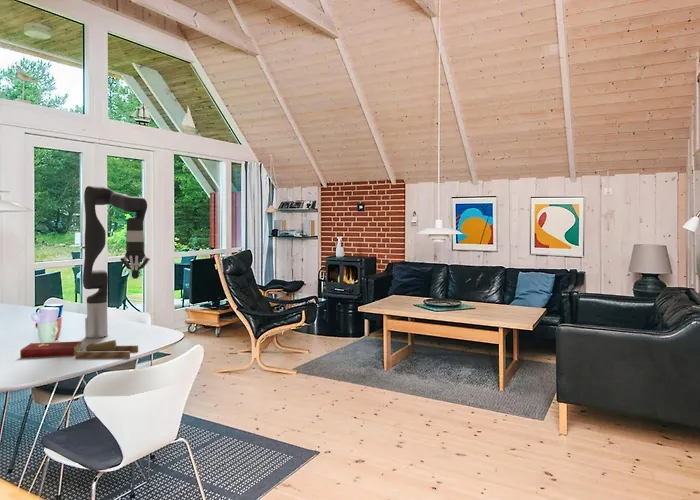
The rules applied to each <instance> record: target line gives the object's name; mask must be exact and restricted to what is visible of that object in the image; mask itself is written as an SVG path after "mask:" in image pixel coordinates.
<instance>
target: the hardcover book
mask: <svg viewBox="0 0 700 500" xmlns="http://www.w3.org/2000/svg"><path fill="white" fill-rule="evenodd" d="M83 342H84V341H83V340H81V341H78V340H77V341H56V342H55V341H53V342H50V341H49V342H30V343H28V345H26V346H24V347H23V348H21V349H20V351H19V352H20V354H19V356H20V359H26V358H27V359H28V358H47V357H48V358H49V357H50V358H51V357H52V358H53V357H72V356H73V357H74V356H75V357H76V353H75V352H81V350H82V346H83V345H82V344H83Z"/></svg>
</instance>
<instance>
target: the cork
mask: <svg viewBox="0 0 700 500" xmlns="http://www.w3.org/2000/svg"><path fill="white" fill-rule="evenodd" d="M86 346H87V351H116V346H117V340H116V339H112V340H107V341H103V342H98V343H96V342H90V343H88V344H87V345H86Z"/></svg>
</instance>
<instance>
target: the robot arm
mask: <svg viewBox="0 0 700 500" xmlns="http://www.w3.org/2000/svg"><path fill="white" fill-rule="evenodd" d="M83 198H84V199H83V200H84V201H83V203H84V214H85V215H84V217H85V218H84V219H85V220H84V221H85V222H84V223H85V227H84V229H85V230H84V263H83V271H82V287H83V288H84V289H85V290H96V289H97V291H96V292H95V293H93V294H91V295H88V296H87V297H86V317H85V318H84V320H85V321H84V323H85V325H84V328H85V333H84V334H85V338H91V339H92V338H93V339H97V338H98V339H99V338H104V336H105V337H107V336H108V335H109V334H108V325H109V324H108V292H109V291H108V290H109V289H108V288H109V287H108V286H109V276H108V272H107V270H103V269H100V270H99V269H96V270H93V268H94V267H93V266H94V265H95V262H96V260H97V259H98V257H99V255H100V254H101V253H102V252H103V250H104V248H105V247H106V241H107V240H106V236H107V234H106V233H107V232H106V229H105V227H104V226H103V224H102V222H101V221H100V220H99V217H98V216H97V212H96V206H105V205H106V206H107V205H111V206H113V207H114V208H117V209H120V210H122V211H123V212H126V213H135V215H133V217H129V218H128V217H127V219H126V232H125V233H126V234H125V246H126V247H125V254H124V255H125V256H123V257H121V258H120V261H121V263H122V264H123V265H124V266H125V268H127V270H130V271H131V278H132V279H133V280H135V279H138V278H139V277H140V270H143V269H144V268H145V267H146V266H147V264H148V263H149V262H150V260H151V259H150V258H149V257H147V256H146V254H145V235H144V220H145V216H146V213H147V209H148V202H147V199H145V197H142V196H130V195H128V194H126V193H120V192H117V191H114V190H112V189H111V188H109V187H107V186H102V185H87V186H86V187H85V189H84V194H83ZM142 261H143V262H142ZM129 262H130V263H129Z"/></svg>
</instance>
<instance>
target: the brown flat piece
mask: <svg viewBox="0 0 700 500" xmlns="http://www.w3.org/2000/svg"><path fill="white" fill-rule="evenodd" d="M87 346H88V345H86V346H85V350H86V351H84V350H83V351H79V352H75V353H76V355H75V359H118V358H119V359H123V358H124V359H129V358H131V352H137V353H138V352H139V344H138V345H134V344H133V345H132V344H131V345H116V351H87Z"/></svg>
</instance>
